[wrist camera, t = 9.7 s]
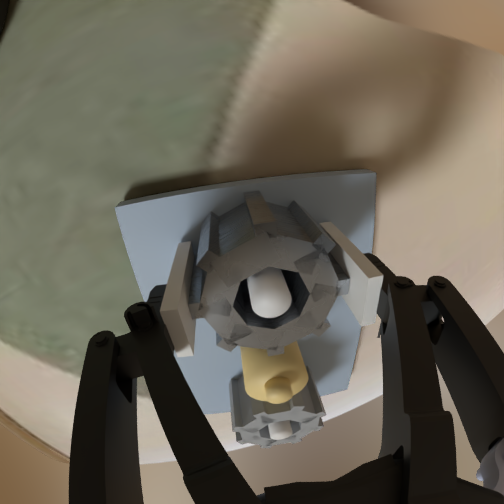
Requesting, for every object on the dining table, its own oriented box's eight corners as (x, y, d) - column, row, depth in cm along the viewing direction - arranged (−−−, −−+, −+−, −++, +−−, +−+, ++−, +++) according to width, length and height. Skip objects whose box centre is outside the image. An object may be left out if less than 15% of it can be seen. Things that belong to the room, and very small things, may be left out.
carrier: (120, 201, 16) (69, 253, 10) (367, 169, 17) (437, 202, 10) (196, 405, 26) (196, 464, 20) (343, 381, 27) (365, 434, 21)
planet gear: (236, 317, 19) (242, 371, 15) (172, 233, 16) (157, 278, 12) (331, 268, 19) (362, 313, 14) (284, 169, 15) (313, 192, 11)
